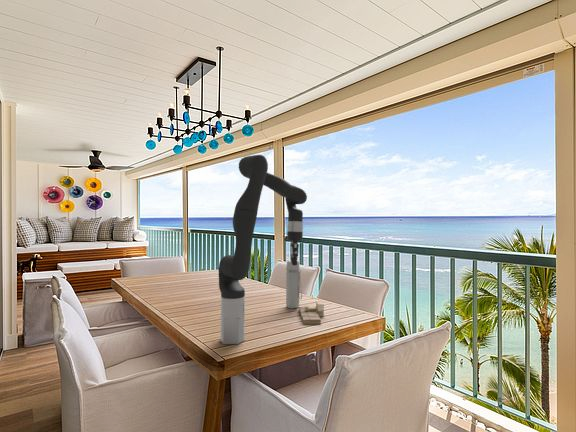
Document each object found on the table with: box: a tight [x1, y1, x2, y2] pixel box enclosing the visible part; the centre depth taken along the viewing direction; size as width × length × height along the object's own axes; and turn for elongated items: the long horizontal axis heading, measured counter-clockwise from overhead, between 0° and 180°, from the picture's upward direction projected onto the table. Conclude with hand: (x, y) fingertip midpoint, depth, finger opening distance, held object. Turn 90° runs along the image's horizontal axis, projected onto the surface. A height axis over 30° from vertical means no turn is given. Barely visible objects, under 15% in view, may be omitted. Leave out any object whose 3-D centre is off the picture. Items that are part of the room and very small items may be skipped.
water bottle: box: [285, 260, 303, 309], centre depth 178 cm, size 9×8×25 cm
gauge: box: [304, 301, 325, 317], centre depth 164 cm, size 5×9×6 cm, turn 93°
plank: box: [298, 306, 322, 325], centre depth 160 cm, size 22×8×2 cm, turn 3°
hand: (293, 264), depth 157 cm, fingers open, 8 cm apart
